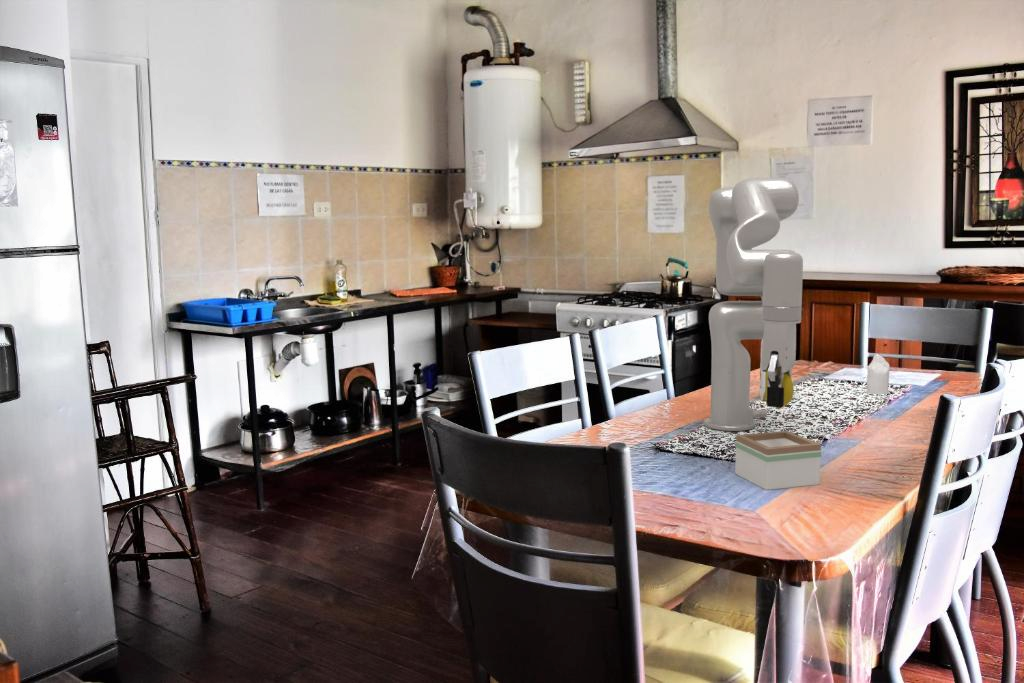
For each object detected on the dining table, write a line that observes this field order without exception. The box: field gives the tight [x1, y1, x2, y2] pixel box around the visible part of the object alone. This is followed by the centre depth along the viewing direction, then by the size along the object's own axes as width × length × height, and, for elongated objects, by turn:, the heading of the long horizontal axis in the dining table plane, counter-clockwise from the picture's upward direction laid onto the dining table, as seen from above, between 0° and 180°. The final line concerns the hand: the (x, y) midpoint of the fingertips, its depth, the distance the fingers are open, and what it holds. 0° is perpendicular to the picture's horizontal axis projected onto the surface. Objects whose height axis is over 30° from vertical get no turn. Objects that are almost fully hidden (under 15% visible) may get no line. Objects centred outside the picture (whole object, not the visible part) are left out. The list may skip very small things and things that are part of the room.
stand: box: [734, 430, 822, 491], centre depth 191 cm, size 12×12×8 cm
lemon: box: [765, 370, 795, 410], centre depth 189 cm, size 6×6×8 cm
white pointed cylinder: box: [866, 353, 891, 395], centre depth 273 cm, size 6×12×6 cm
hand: (778, 402), depth 189 cm, fingers closed on lemon, 5 cm apart
